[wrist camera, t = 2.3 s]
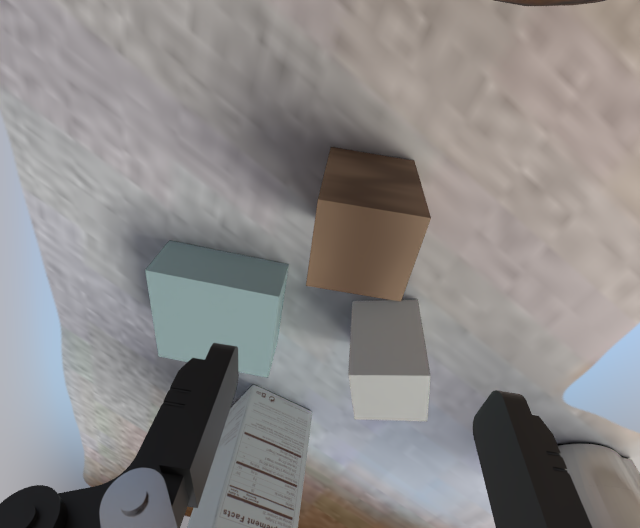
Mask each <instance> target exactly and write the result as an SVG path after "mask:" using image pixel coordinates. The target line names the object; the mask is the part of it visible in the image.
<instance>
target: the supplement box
mask: <svg viewBox="0 0 640 528" xmlns="http://www.w3.org/2000/svg"><path fill="white" fill-rule="evenodd" d="M311 419H312V412H311V411H310V410H307V409H305V408H303V407H301V406H299V405H297V404H295V403H293V402H291V401H289V400H287V399H284V398H282V397H280V396H278V395H276V394H274V393H272V392H269V391H267V390H265V389H263V388H261V387H258V386H256V385H252V386H251V387H250V388H249V389H248V390H247V391H246V392H245V393H244V395H243V396H242V397H241V398H240V399H239V400H238V401H237V402H236V403H235V404H234V405H233V406H232V407H231V408H230V411H229V414H228V417H227V420H226V423H225V426H224V429H223V432H222V435H221V438H220V441H219V444H218V447H217V451H216V454H215V457H214V460H213V463H212V466H211V469H210V472H209V475H208V478H207V481H206V484H205V487H204V490H203V493H202V496H201V499H200V503H199V506H198V508H193V511H192V514H191V517H190V520H189V523H188V526H187V528H298V520H299V512H300V505H301V497H302V490H303V482H304V474H305V466H306V459H307V451H308V443H309V435H310V426H311Z"/></svg>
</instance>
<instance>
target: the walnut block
mask: <svg viewBox="0 0 640 528" xmlns="http://www.w3.org/2000/svg"><path fill="white" fill-rule="evenodd" d="M430 219H431V217H430V213H429V210H428V206H427V203H426V199H425V196H424V192H423V189H422V186H421V182H420V179H419V175H418V172H417V168H416V165H415V161H413V160H407V159H401V158H395V157H389V156H383V155H377V154H371V153H365V152H359V151H353V150H347V149H341V148H334V147H331V149H330V153H329V157H328V161H327V165H326V169H325V173H324V177H323V181H322V185H321V189H320V193H319V197H318V202H317V210H316V217H315V224H314V231H313V239H312V246H311V253H310V260H309V267H308V275H307V282H306V286H311V287H317V288H323V289H329V290H335V291H341V292H347V293H353V294H359V295H364V296H370V297H376V298H382V299H388V300H394V301H400V302H401V300H402V297H403V294H404V292H405V289H406V286H407V283H408V281H409V278H410V275H411V272H412V269H413V267H414V264H415V261H416V258H417V255H418V253H419V250H420V247H421V244H422V242H423V239H424V236H425V233H426V230H427V228H428V225H429V222H430Z"/></svg>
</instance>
